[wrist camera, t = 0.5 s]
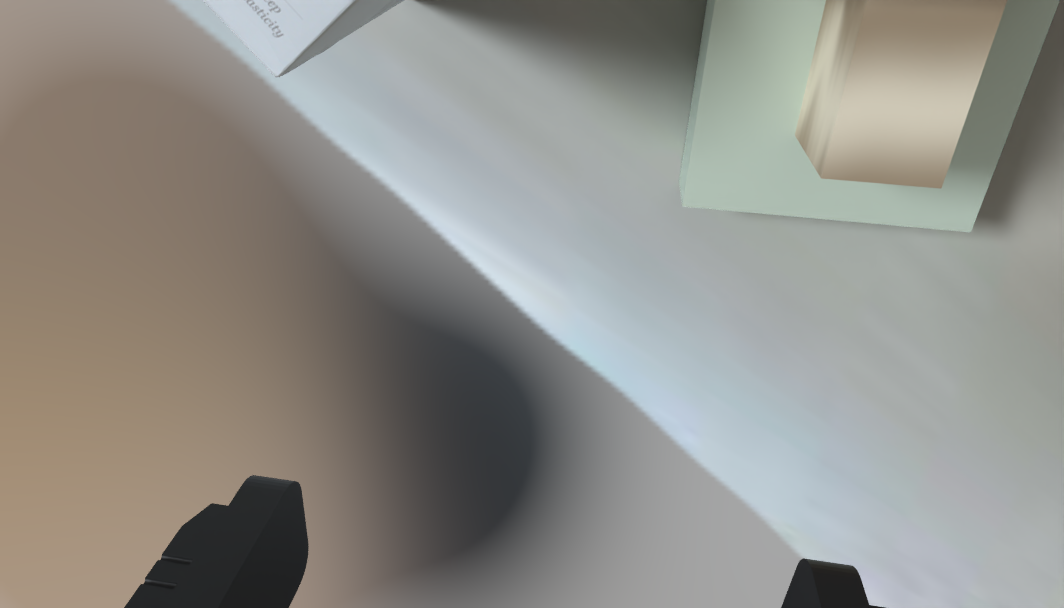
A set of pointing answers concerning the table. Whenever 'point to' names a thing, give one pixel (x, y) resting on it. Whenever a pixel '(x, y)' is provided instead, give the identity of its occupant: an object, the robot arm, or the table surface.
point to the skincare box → (294, 26)
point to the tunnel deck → (774, 107)
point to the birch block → (893, 87)
